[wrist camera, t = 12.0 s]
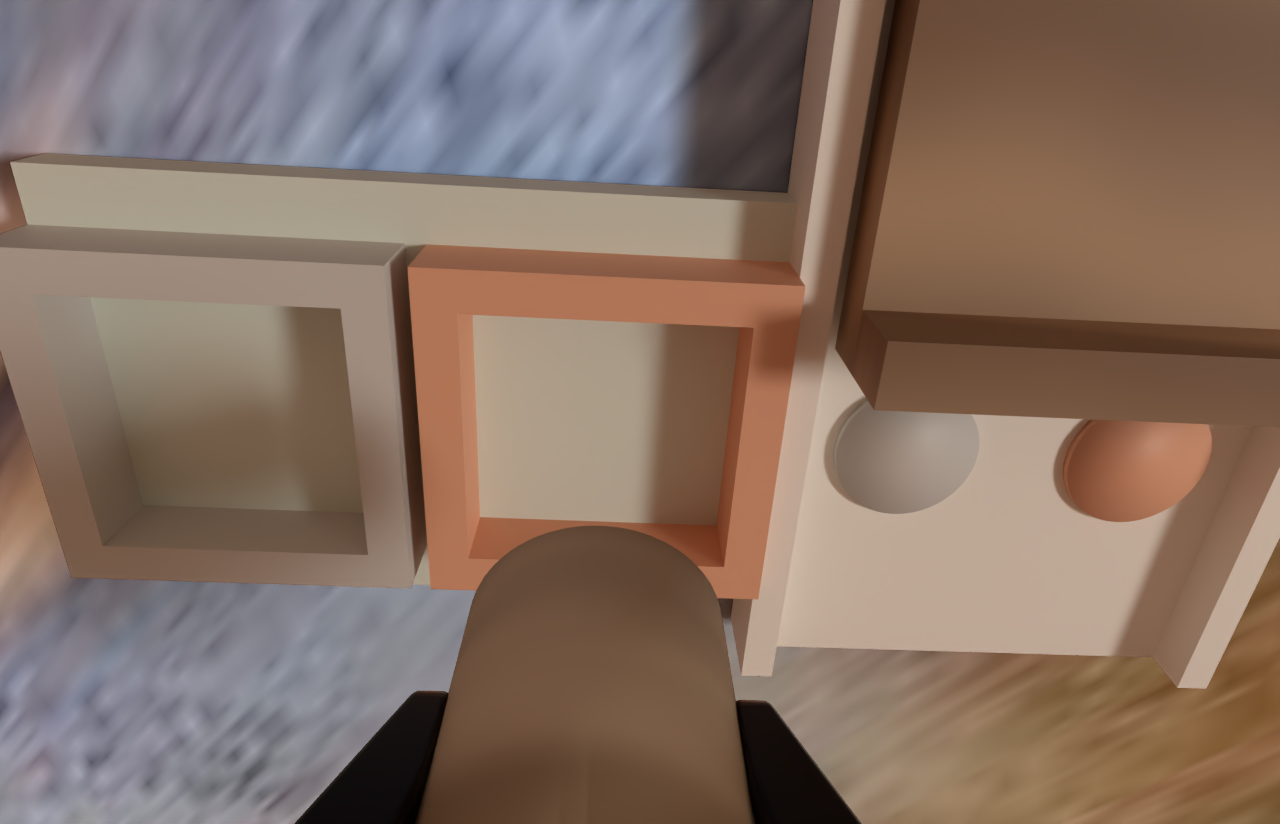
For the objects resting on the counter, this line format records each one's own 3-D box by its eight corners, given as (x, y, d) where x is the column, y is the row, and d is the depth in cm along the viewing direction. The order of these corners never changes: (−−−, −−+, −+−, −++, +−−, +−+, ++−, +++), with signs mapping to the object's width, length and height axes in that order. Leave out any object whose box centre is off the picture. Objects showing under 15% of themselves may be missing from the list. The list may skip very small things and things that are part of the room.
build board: (737, 568, 20) (752, 639, 17) (147, 549, 19) (84, 620, 17) (787, 192, 16) (815, 222, 14) (46, 153, 15) (-55, 177, 13)
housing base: (1156, 630, 21) (1206, 688, 19) (730, 616, 20) (741, 675, 19) (1471, -101, 14) (1598, -118, 12) (832, -147, 13) (865, -172, 12)
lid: (1286, 368, 16) (1405, 432, 14) (834, 348, 16) (874, 410, 13) (1571, -276, 12) (1821, -352, 9) (951, -326, 11) (1042, -419, 9)
